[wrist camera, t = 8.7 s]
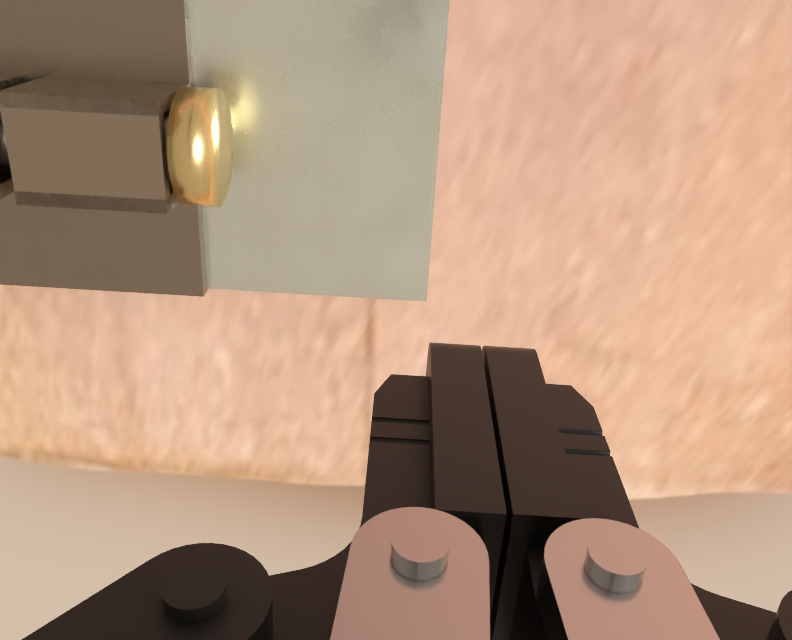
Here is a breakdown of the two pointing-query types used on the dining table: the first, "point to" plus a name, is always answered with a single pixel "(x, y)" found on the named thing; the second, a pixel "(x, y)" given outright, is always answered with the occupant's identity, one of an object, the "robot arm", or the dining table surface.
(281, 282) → the hinge
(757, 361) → the dining table surface
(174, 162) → the hinge pin
